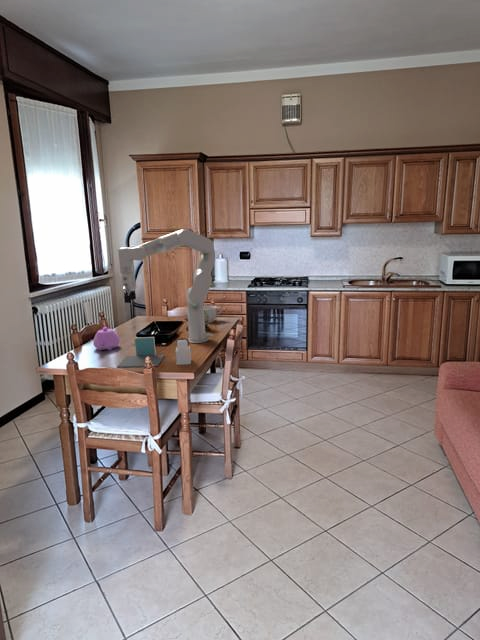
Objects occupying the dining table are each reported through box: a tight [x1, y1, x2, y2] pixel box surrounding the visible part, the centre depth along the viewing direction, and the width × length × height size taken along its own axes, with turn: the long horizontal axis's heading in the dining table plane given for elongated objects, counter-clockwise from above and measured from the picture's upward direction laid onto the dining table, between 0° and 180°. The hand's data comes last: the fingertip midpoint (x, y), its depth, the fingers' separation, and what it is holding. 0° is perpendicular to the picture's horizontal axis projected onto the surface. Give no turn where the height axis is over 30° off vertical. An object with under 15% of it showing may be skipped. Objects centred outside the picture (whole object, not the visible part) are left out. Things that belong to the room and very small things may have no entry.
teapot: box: [93, 326, 120, 352], centre depth 248 cm, size 20×14×12 cm
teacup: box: [204, 305, 223, 323], centre depth 305 cm, size 12×15×10 cm
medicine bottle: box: [175, 338, 192, 366], centre depth 219 cm, size 7×7×12 cm
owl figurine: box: [183, 310, 212, 333], centre depth 283 cm, size 18×12×17 cm, turn 65°
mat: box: [116, 354, 165, 368], centre depth 224 cm, size 20×17×1 cm
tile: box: [134, 336, 157, 356], centre depth 232 cm, size 10×2×10 cm, turn 88°
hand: (130, 300), depth 246 cm, fingers open, 9 cm apart
